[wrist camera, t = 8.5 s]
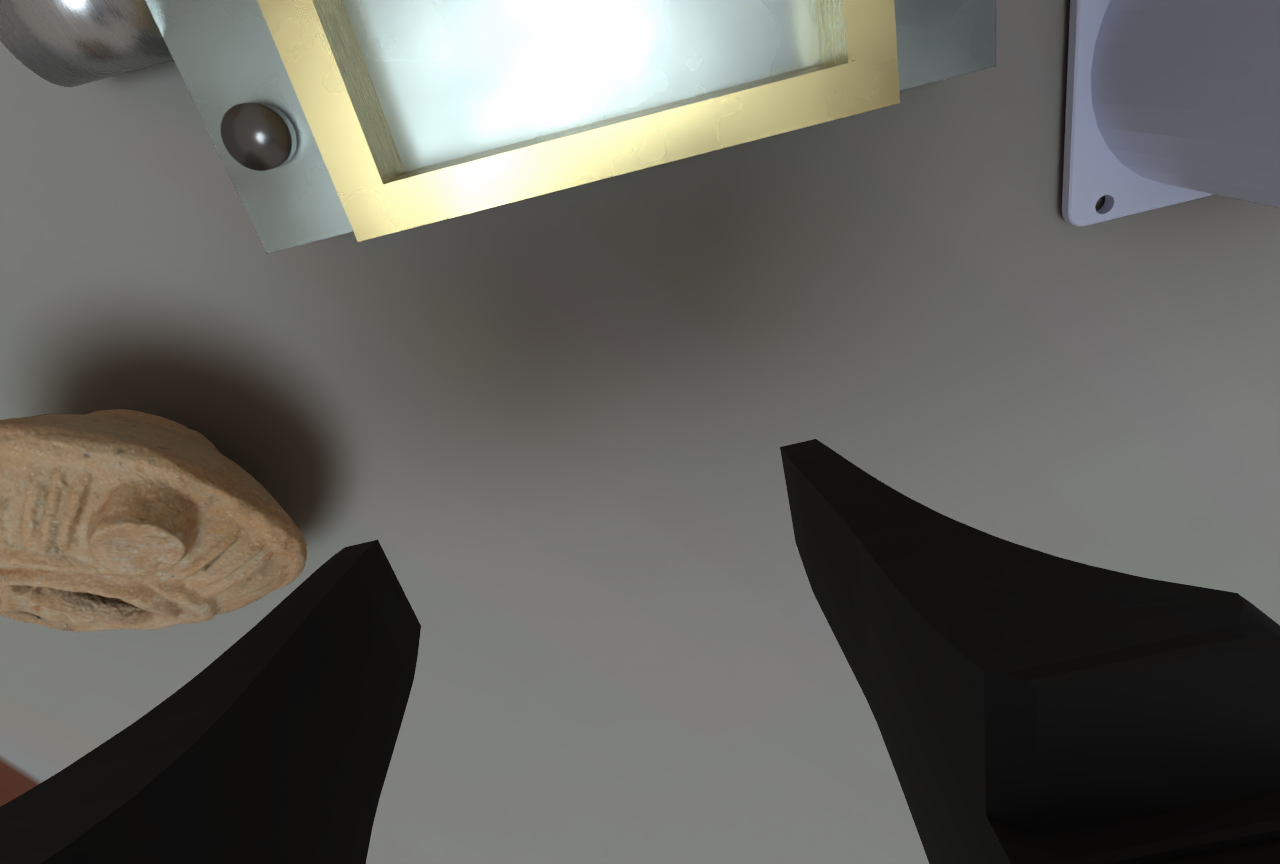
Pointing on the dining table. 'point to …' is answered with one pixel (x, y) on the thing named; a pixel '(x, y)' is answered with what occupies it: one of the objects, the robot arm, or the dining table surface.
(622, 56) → the metal tray
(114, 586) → the pottery oil lamp
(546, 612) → the dining table surface
